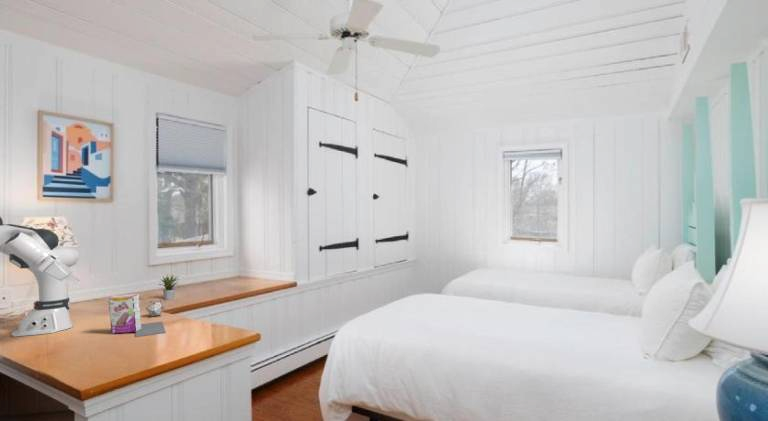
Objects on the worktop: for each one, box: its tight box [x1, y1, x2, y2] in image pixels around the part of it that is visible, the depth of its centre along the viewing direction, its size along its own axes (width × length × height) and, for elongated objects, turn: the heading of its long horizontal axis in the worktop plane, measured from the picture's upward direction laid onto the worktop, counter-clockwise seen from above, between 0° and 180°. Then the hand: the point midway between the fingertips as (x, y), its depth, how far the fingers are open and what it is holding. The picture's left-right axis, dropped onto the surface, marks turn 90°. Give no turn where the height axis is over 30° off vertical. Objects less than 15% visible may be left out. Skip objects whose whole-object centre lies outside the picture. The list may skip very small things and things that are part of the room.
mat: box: [135, 321, 166, 338], centre depth 200 cm, size 12×24×1 cm, turn 30°
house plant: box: [158, 274, 181, 301], centre depth 276 cm, size 14×14×16 cm
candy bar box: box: [108, 293, 142, 335], centre depth 195 cm, size 11×5×16 cm, turn 92°
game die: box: [145, 300, 166, 318], centre depth 227 cm, size 9×8×10 cm
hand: (77, 282), depth 186 cm, fingers closed
